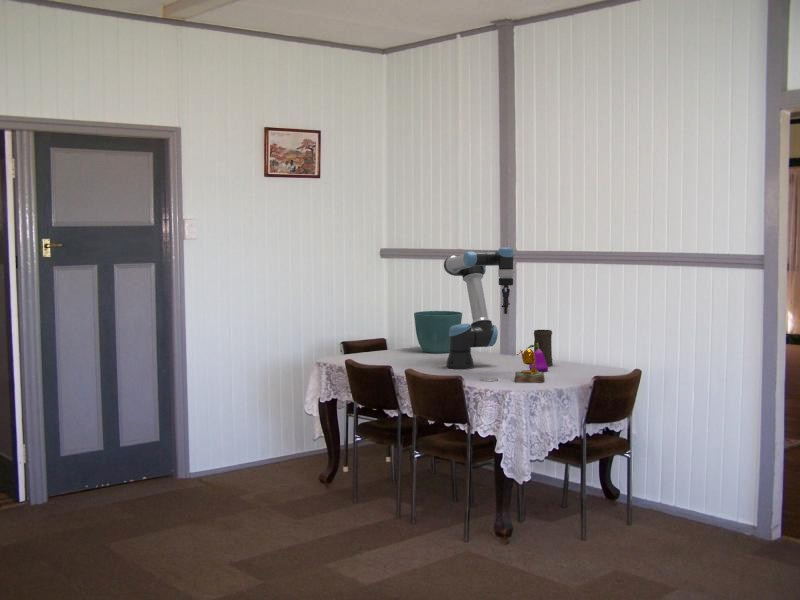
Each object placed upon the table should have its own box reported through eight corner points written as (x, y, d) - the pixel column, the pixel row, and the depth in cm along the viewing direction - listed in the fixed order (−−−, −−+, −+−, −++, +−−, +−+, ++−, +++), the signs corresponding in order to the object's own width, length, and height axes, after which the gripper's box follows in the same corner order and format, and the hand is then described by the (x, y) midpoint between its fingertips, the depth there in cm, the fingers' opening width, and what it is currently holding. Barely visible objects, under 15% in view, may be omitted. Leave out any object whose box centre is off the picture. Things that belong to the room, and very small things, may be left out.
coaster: (479, 382, 442) (479, 380, 442) (480, 379, 450) (480, 377, 450) (497, 382, 440) (497, 380, 440) (498, 379, 449) (498, 378, 449)
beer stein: (552, 367, 488) (552, 330, 488) (532, 366, 490) (532, 330, 490) (553, 365, 503) (553, 329, 503) (533, 364, 505) (534, 329, 505)
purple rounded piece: (545, 369, 482) (545, 341, 481) (552, 372, 471) (552, 343, 470) (524, 369, 480) (525, 341, 479) (531, 372, 469) (531, 344, 468)
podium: (515, 382, 439) (515, 375, 438) (515, 377, 453) (515, 371, 452) (544, 382, 437) (544, 375, 437) (543, 378, 451) (543, 371, 450)
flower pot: (464, 354, 544) (464, 314, 542) (415, 354, 544) (414, 315, 542) (460, 348, 574) (460, 310, 572) (413, 348, 573) (413, 311, 572)
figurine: (515, 373, 446) (515, 349, 445) (530, 370, 453) (530, 347, 452) (528, 375, 439) (528, 350, 438) (543, 372, 446) (543, 348, 445)
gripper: (513, 278, 449) (512, 321, 450) (513, 276, 473) (513, 316, 475) (498, 278, 450) (497, 321, 451) (499, 276, 474) (499, 316, 476)
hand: (505, 318), depth 463 cm, fingers open, 13 cm apart
